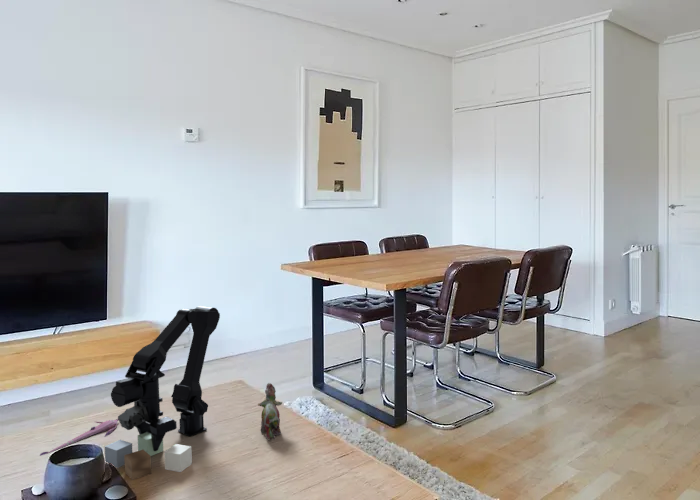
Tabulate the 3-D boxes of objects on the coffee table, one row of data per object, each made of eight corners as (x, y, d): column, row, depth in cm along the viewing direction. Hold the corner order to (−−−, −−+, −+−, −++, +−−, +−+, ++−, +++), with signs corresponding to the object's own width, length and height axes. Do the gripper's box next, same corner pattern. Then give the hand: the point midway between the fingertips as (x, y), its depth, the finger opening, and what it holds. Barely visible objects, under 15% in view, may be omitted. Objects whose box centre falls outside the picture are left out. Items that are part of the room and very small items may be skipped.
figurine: (285, 426, 178) (284, 380, 176) (277, 442, 166) (276, 393, 165) (261, 425, 179) (261, 379, 177) (251, 441, 167) (250, 392, 165)
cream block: (176, 461, 154) (176, 443, 154) (191, 464, 153) (191, 446, 152) (164, 469, 150) (164, 451, 149) (180, 472, 148) (179, 454, 148)
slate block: (120, 456, 157) (120, 439, 157) (132, 460, 155) (132, 443, 154) (105, 463, 153) (104, 446, 153) (117, 468, 151) (116, 450, 150)
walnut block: (143, 467, 151) (142, 449, 151) (151, 473, 147) (150, 455, 147) (125, 473, 148) (124, 455, 147) (132, 480, 144) (131, 461, 144)
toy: (111, 410, 184) (133, 419, 180) (111, 416, 185) (133, 426, 180) (30, 447, 160) (52, 459, 155) (30, 454, 160) (52, 466, 156)
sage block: (154, 446, 164) (153, 429, 163) (163, 451, 161) (162, 434, 160) (138, 452, 160) (137, 435, 159) (147, 457, 157) (146, 440, 156)
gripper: (105, 395, 159) (107, 448, 160) (139, 411, 147) (141, 468, 148) (141, 385, 167) (143, 436, 168) (176, 399, 155) (178, 453, 157)
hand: (150, 448), depth 160 cm, fingers closed on sage block, 5 cm apart
